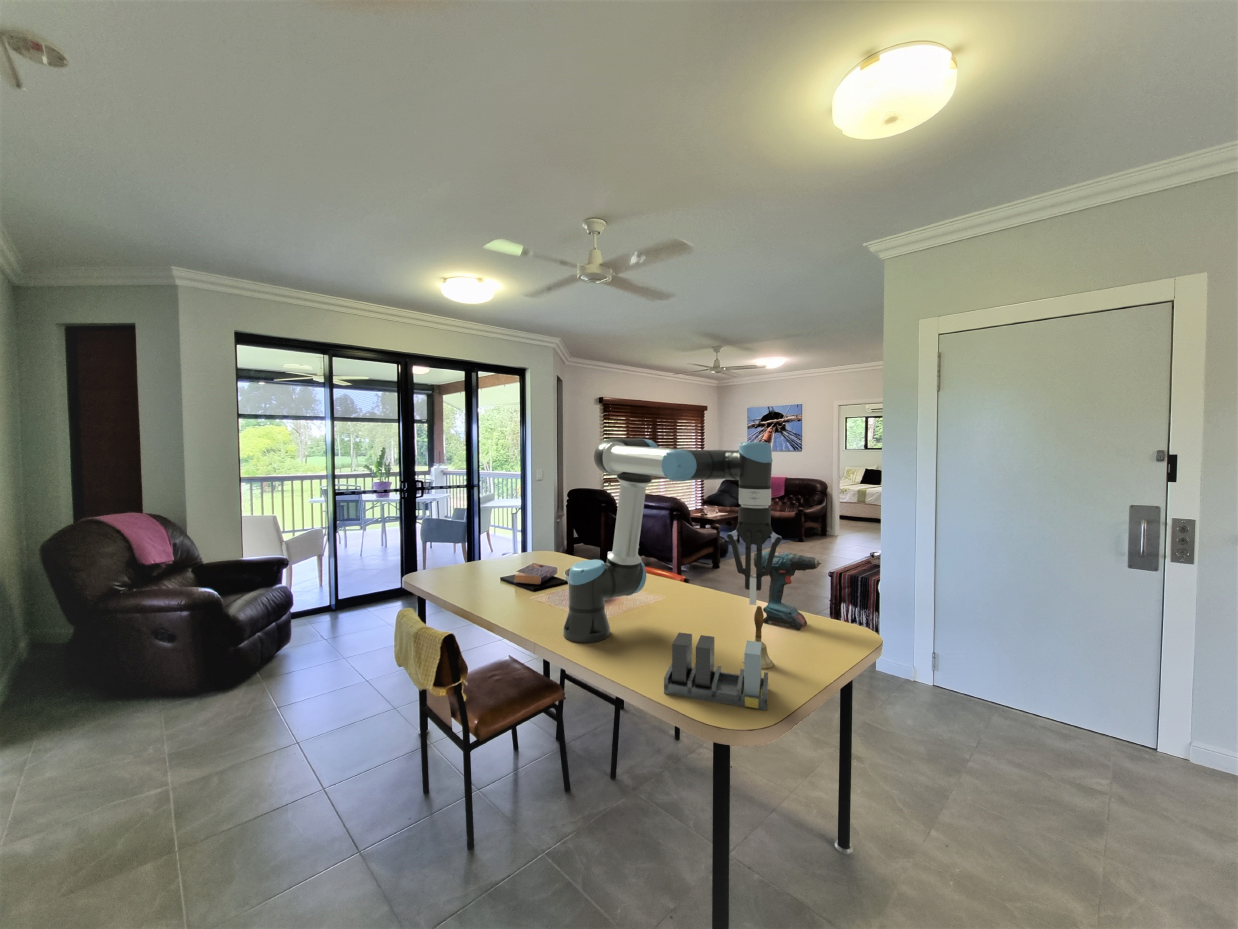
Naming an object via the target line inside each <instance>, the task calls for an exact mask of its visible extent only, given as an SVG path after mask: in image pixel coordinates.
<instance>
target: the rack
mask: <svg viewBox="0 0 1238 929" xmlns="http://www.w3.org/2000/svg"><path fill="white" fill-rule="evenodd" d="M671 644H672V645H671V647H672V648H671V652H672V653H671V663H670V666H669V667H668V669H667V671H666V672H665V675H664V677H663V694H664V695H671V696H677V697H683V698H688V699H694V700H701V701H708V702H713V703H719V704H724V705H730V706H737V707H743V708H748V709H754V710H761V711H768V698H769V697H768V696H769V672H766V671H764V672H763V677H761V692H760V697H756V696H750V695H744V668H740V670H739V674H737V673H732V672H725V671H722V665H717V666H716V669H715V636H711V635H702V634H701V635H700V636H699V638H698V641H697V642H696V645H695V662H694V665H693V664H692V663H693V653H692V652H693V651H692V650H693V634H692V633H686V632H680V631H679V632H677V635H676V636H675V638H674V640H673V642H672V643H671ZM692 666H693V667H692Z"/></svg>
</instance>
